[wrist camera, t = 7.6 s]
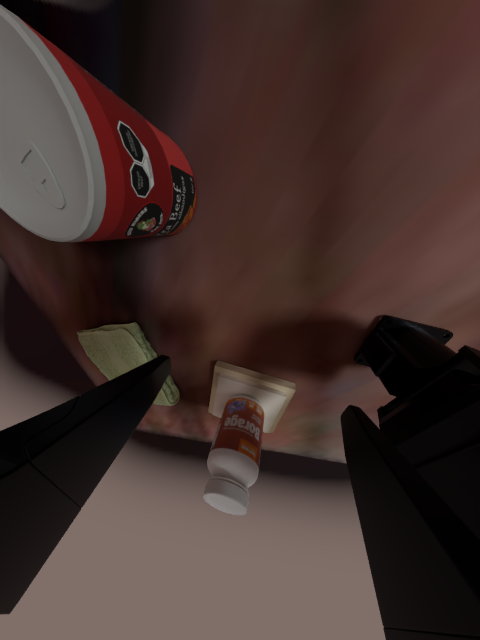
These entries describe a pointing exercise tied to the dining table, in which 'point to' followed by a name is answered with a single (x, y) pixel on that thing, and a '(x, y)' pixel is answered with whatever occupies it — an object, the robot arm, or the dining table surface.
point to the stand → (250, 391)
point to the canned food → (81, 151)
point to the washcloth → (124, 354)
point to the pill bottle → (235, 455)
